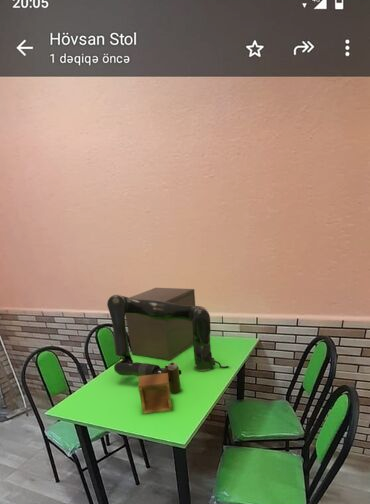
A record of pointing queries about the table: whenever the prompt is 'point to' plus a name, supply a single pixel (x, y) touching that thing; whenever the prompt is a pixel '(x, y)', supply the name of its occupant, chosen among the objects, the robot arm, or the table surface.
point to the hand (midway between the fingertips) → (176, 376)
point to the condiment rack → (155, 393)
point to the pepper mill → (174, 378)
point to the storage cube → (161, 326)
